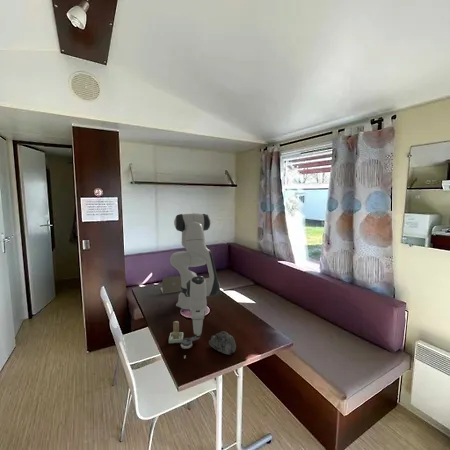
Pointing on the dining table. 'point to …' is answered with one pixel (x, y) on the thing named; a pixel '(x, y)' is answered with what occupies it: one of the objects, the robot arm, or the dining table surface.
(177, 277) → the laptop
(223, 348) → the mineral rock
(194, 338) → the crank
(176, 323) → the stop pin
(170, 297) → the dining table surface
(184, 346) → the crank base
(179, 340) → the dish
